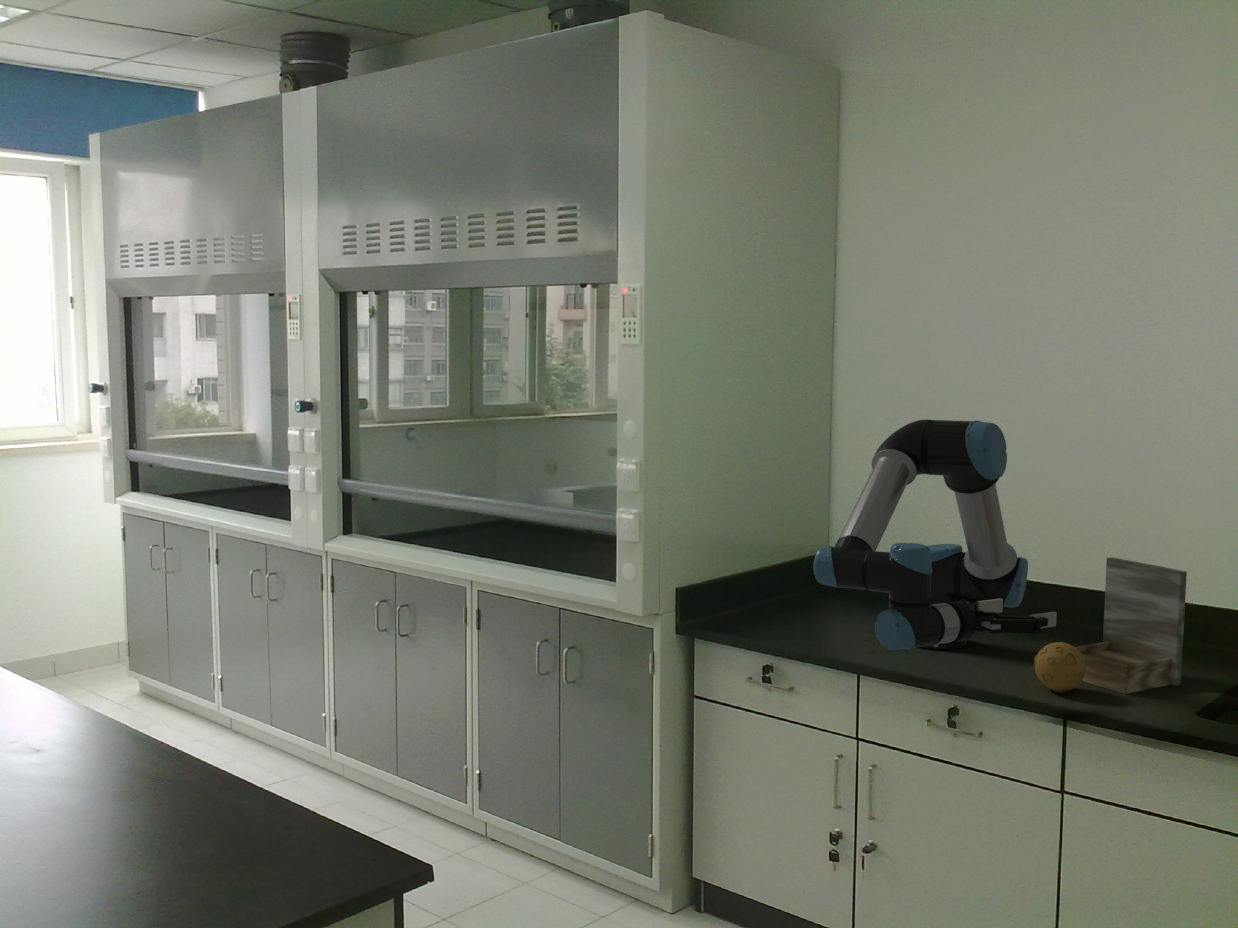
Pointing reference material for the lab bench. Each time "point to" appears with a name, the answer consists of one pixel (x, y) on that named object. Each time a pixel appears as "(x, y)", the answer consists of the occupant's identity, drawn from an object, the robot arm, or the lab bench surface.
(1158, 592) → the ledge stand
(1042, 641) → the lab bench surface
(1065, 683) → the stress ball
